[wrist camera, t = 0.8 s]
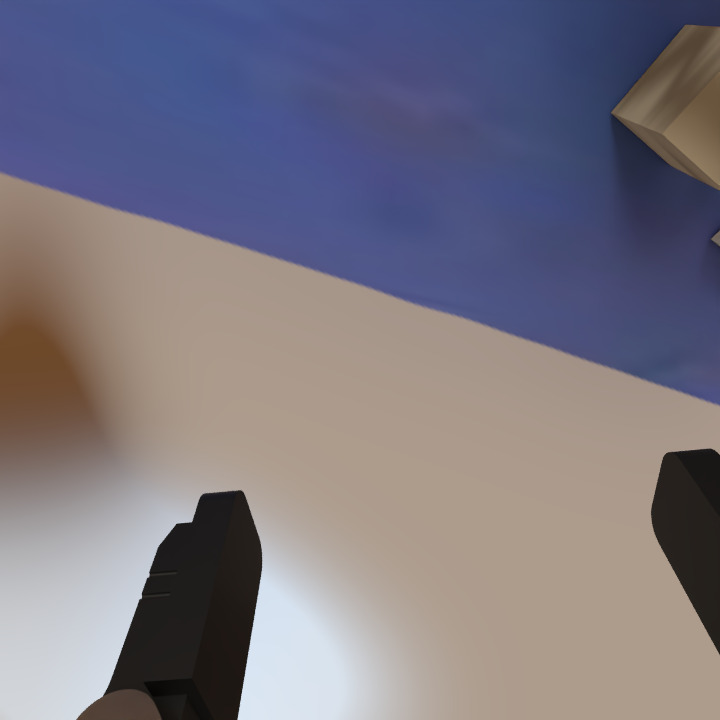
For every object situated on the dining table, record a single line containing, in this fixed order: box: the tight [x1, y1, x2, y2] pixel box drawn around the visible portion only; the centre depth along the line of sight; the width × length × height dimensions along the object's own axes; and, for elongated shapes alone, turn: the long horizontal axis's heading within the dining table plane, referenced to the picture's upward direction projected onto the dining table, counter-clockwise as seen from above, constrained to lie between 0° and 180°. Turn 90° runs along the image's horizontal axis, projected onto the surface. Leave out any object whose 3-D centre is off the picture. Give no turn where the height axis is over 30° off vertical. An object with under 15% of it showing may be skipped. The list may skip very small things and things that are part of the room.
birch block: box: [611, 25, 720, 191], centre depth 28 cm, size 5×5×6 cm
